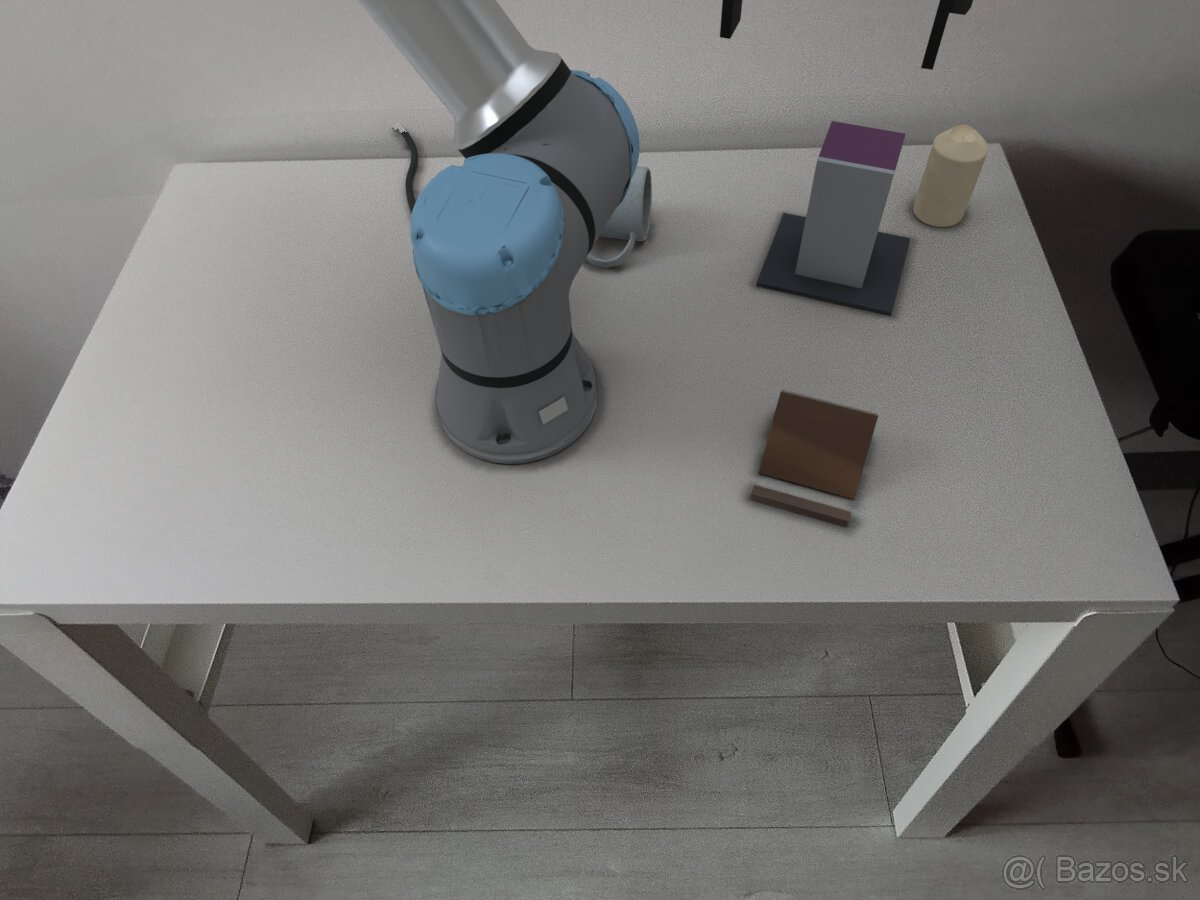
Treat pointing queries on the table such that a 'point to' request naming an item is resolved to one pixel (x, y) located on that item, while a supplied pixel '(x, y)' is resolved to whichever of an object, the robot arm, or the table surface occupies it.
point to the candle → (950, 176)
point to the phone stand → (815, 453)
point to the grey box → (847, 202)
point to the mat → (870, 297)
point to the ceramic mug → (629, 218)
